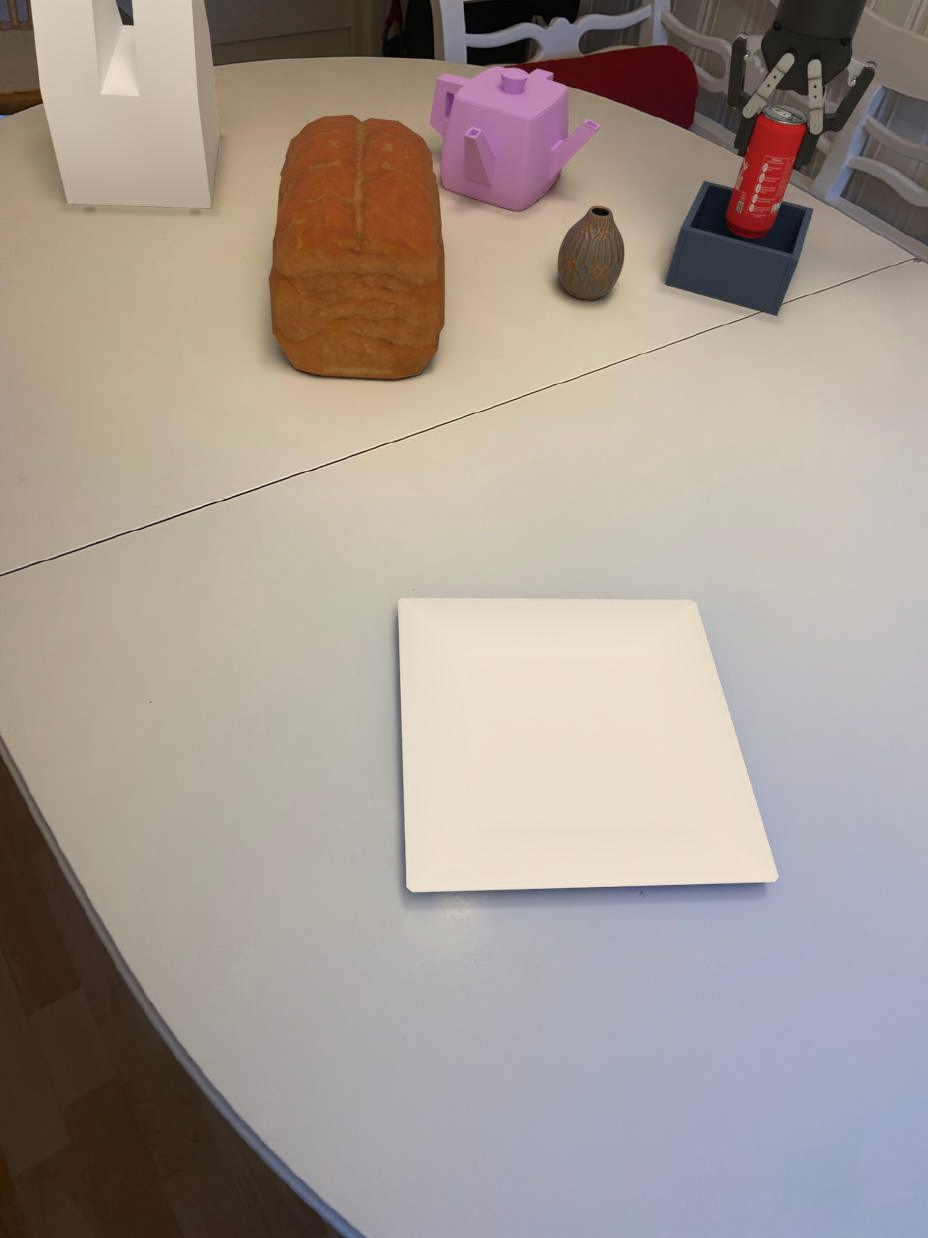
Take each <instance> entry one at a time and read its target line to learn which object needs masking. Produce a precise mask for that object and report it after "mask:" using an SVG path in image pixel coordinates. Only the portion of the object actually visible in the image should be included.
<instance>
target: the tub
mask: <svg viewBox="0 0 928 1238" xmlns="http://www.w3.org/2000/svg"><path fill="white" fill-rule="evenodd" d="M733 190H734V187H731V186H727V185H723V184H720V183H716V182H711V181H708V180H703V182H702V184H701V185H700V188H699V190H698V192H697V194H696V196H695V198H694V200H693V202H692V204H691V206H690V208H689V210H688V213H687V214H686V217H685V218H684V220H683V222H682V224H681V227H680V229H679V232H678V236H677V241H676V244H675V247H674V251H673V254H672V258H671V261H670V265H669V268H668V272H667V274H666V280H665V282H664V284H665V285H666V286H669V287H673V288H676V289H681V290H683V291H687V292H690V293H691V292H692V293H695V294H698V295H701V296H706V297H709V298H712V299H716V300H719V301H722V302H727V303H731V304H735V305H738V306H742V307H745V308H749V309H753V310H756V311H759V312H763V313H767V314H770V315H774V316H778V314H779V312H780V310H781V307H782V305H783V302H784V299H785V296H786V294H787V291H788V289H789V287H790V283H791V281H792V279H793V276H794V273H795V271H796V268H797V266H798V263H799V261H800V257H801V254H802V252H803V251H802V250H803V248H804V244H805V242H806V241H805V240H806V237H807V234H808V230H809V227H810V224H811V220H812V217H813V213H814V208H812V207H807V206H804V205H802V204H797V203H793V202H789V201H785V200H782V202H781V205H780V208H779V210H778V213H777V216H776V219H775V221H774V224H773V226H772V228H771V229H770V230H769V231H768V232H767V233H766V235H765V236H764V237H762V238H759V239H747V238H743V237H740V236H737V235H735V234H733V233H732V232H730V231H729V230H728V228H727V219H726V212H727V209H728V206H729V203H730V200H731V196H732V193H733Z"/></svg>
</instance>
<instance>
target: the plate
mask: <svg viewBox="0 0 928 1238" xmlns="http://www.w3.org/2000/svg"><path fill="white" fill-rule="evenodd" d="M397 615H398V616H397V617H398V618H397V619H398V647H399V648H398V649H399V679H400V680H399V682H400V683H399V684H400V715H401V716H400V717H401V718H400V719H401V740H402V741H401V749H402V780H403V783H402V784H403V815H404V844H405V845H404V846H405V848H404V849H405V877H406V878H405V880H406V881H405V882H406V883H405V884H406V888H407V889H408V890H409V891H410V892H411V893H433V892H435V893H436V892H437V893H438V892H465V891H466V892H467V891H469V892H470V891H473V892H474V891H503V890H504V891H505V890H506V891H507V890H538V889H539V890H540V889H543V890H544V889H573V888H577V889H578V888H607V887H608V888H609V887H611V888H612V887H644V886H645V887H646V886H648V887H649V886H677V885H679V886H681V885H709V884H710V885H711V884H713V885H714V884H716V885H717V884H718V885H719V884H747V883H748V884H749V883H752V884H753V883H754V884H755V883H775V882H776V881H777V880H778V879H779V878H780V877H779V873H778V869H777V866H776V863H775V859H774V855H773V853H772V848H771V846H770V843H769V839H768V836H767V833H766V830H765V826H764V822H763V819H762V816H761V812H760V808H759V806H758V803H757V800H756V796H755V793H754V789H753V785H752V782H751V779H750V777H749V774H748V769H747V766H746V763H745V759H744V757H743V753H742V750H741V746H740V743H739V740H738V736H737V733H736V730H735V727H734V722H733V720H732V717H731V713H730V710H729V709H730V708H729V706H728V703H727V699H726V696H725V693H724V690H723V687H722V683H721V679H720V676H719V673H718V669H717V666H716V662H715V660H714V656H713V653H712V650H711V647H710V643H709V639H708V637H707V633H706V629H705V627H704V623H703V620H702V617H701V613H700V610H699V607H698V603H697V602H696V601H694V600H693V599H677V598H676V599H675V598H674V599H671V598H670V599H669V598H668V599H667V598H666V599H663V598H658V599H657V598H655V599H654V598H653V599H652V598H650V599H649V598H646V599H645V598H525V597H524V598H523V597H522V598H521V597H520V598H518V597H517V598H511V597H509V598H508V597H507V598H505V597H500V598H499V597H498V598H497V597H401V598H400V599H398V600H397Z"/></svg>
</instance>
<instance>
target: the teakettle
mask: <svg viewBox="0 0 928 1238" xmlns="http://www.w3.org/2000/svg"><path fill="white" fill-rule="evenodd" d="M569 115H570V114H569V89H568V87H567V86H566V84H563V83H560V82H557V81H554V72H551V71H547V70H544V69H542V68H541V69H540V68H536V69H534V70H533V71H530V73H528V72H527V71H525V70H524V69H521V68H517V67H504V66H498V65H496V66H493V67H489V68H487V69H486V70H484V71H481V72H480V73H479V74H477V75H475V76H474V77H473V78H471V79H470V78H466V77H462V76H457V75H454V74H450V73H447V72H446V73H445V72H444V73H443V74H441V75H440V76H438V77H437V78H436V79H435V84H434V92H433V97H432V105H431V112H430V118H429V126H431V127H432V128H433V129H434V130H435V131H436V133H438V135H440V136H441V138H442V139H443V141H442V149H441V155H440V164H439V171H440V172H439V173H440V177H441V183H442V186H443V188H444V189H446V190H448V191H451V192H453V193H456V194H459V195H462V196H465V197H468V198H471V199H473V200H477V201H479V202H483V203H486V204H489V205H493V206H495V207H500V208H502V209H506V210H510V211H514V212H520V211H523V210H525V209H528V208H529V207H531V206H532V205H534V204H535V203H537V202H538V201H539V200H541V198H543V197H544V196H545V195H546V194H547V193H548V192H549V191H550V189H551V188H552V187H553V185H554V184H555V182H556V181H557V179H558V178H559V175H560V174H561V171H562V169H563V167H564V166H565V165H566V164H567V163H568V162H569V161H570V160H571V159H572V158H574V156H575V155H576V154H577V153H578V152H579V151H580V150H581V149H582V148H583V146H585V145H586V143H588V142H589V140H590V139H591V138H592V137H593V136H594V135H595V134H596V133H597V132H598V131H599V130H600V128H601V125H600V124H598V123H597V122H595V121H593V120H592V119H589V118H586V119H585V120H584V121H583V122H582V124H581V125H580V126H578V127H577V128H576V129H575V130H574V131H573V132H572V133H570V135H569V122H570V121H569V118H570V117H569Z"/></svg>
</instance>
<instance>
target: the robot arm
mask: <svg viewBox="0 0 928 1238" xmlns="http://www.w3.org/2000/svg"><path fill="white" fill-rule="evenodd" d="M867 2H868V0H779V1H778V4H777V7H776V11H775V14H774V17H773V21H772V23H771V26H770V27H769V28H768V30H766V32H764V34H763V35H762V34H759V35H757V34H755V35H749V34H748V33H747V32H746V31H741V32H739V33H738V34H737V35H736V37H735V38H734V41H733V43H732V45H731V51H730V52H731V54H730V63H729V75H728V85H727V87H728V88H727V98H726V104H727V105H728V106H729V107H730V108H735V109H736V110H738V111H739V112H740V115H741V118H740V121H739V125H738V128H737V131H736V135H735V138H734V142H733V149H735V150H737V155H736V156H738V157H742V158H744V155H745V152H746V149H747V146H748V142H749V139H750V136H751V133H752V130H753V127H754V123H755V120H756V117H757V115H758V114H759V112H758V110H759V109H760V108H761V106H762V105H763V104H764V103H765V101H766V100H767V99H768V98H769V96H770V95H771V94H772V92H774V90H780V91H783V92H785V91H786V92H787V91H793V92H795V93H796V94H798V95H800V96H804V97H808V110H809V124H808V129H807V132H806V135H805V137H804V140H803V143H802V146H801V148H800V151H799V154H798V157H797V160H796V162H795V165H794V168H793V171H794V170H795V171H798V172H800V171H801V169H802V166H805V167H807V166H809V164H811V161H812V158H813V156H814V154H815V151H816V148H817V146H818V143H819V140H820V137H821V136H822V135H823V134H824V133H826V132H832V133H833V132H834V133H839V132H841V131H842V130H843V129H844V127H845V125H846V124H847V122H848V120H849V119H850V117H851V115H852V114H853V112H854V111H855V109H856V108H857V106H858V104H859V103H860V101H861V99H862V98H863V96H864V95H865V94H866V91H867V90H868V88H869V86H870V85H871V83H872V81H873V80H874V78H875V75H876V71H877V67H878V66H877V63H876V62H875V61H873V60H868V61H864V60H862V59H860V58H858V57H857V56H854V55H853V52H854V51H853V40H854V38H855V35H856V33H857V29H858V26H859V24H860V21H861V18H862V16H863V13H864V10H865V8H866V5H867ZM758 50H761V54H762V58H763V60H764V64H765V67H766V71H767V72H766V74H765V75H764V76H763V78H762V79H761V80H760V82H759V84H758V86H757V87H756V88H755V90H754V91H753V92H752V94H749V93H748V92H746V91H745V83H746V73H747V63H750V62H751V61H752V60H753V59H754V57H755V54H756V52H757V51H758ZM844 70H847V71H848V76H847V81H846V83H847V86H848V87H849V89H848V91H847V92H846V94H845V95H844V97H843V99H842V100H841V102H840V104H839V105H838V107H837V109H836V110H835V112H829V113H826V110H827V109H826V106H827V105H826V104H827V103H826V102H827V100H826V99H827V85H828V84H830V82H831V81H833V80H834V79H835V78H836V77H838V76H839V75H840V74H841V73H842V72H843V71H844Z"/></svg>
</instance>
